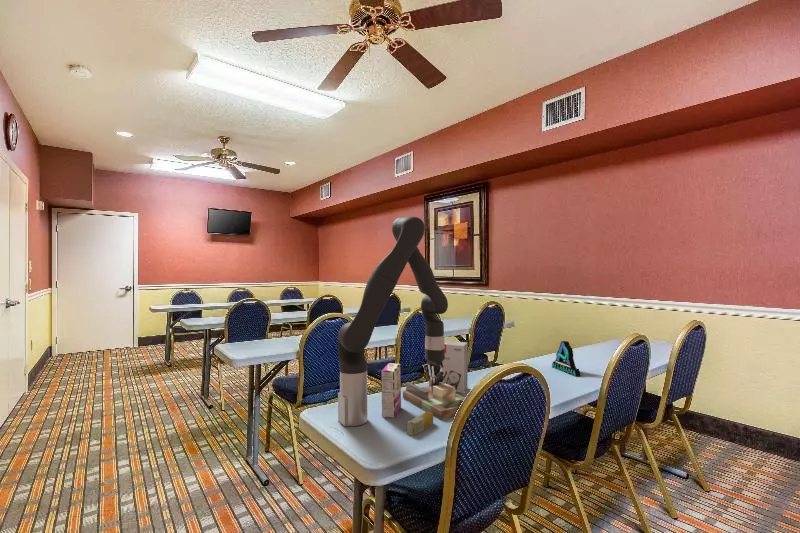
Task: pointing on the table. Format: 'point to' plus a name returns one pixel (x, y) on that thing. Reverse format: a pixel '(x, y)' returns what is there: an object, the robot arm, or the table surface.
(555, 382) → the table surface
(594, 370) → the table surface
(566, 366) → the decorative sign
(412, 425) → the medication box
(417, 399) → the corridor deck
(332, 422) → the table surface
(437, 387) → the ash block
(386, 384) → the candy bar box
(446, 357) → the hard drive box
